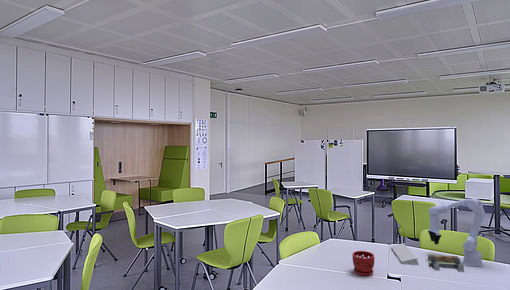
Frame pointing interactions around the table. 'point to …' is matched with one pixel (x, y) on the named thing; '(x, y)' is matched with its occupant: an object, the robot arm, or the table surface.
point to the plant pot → (363, 262)
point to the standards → (446, 265)
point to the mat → (440, 262)
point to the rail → (443, 258)
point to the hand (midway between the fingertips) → (434, 242)
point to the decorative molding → (404, 254)
